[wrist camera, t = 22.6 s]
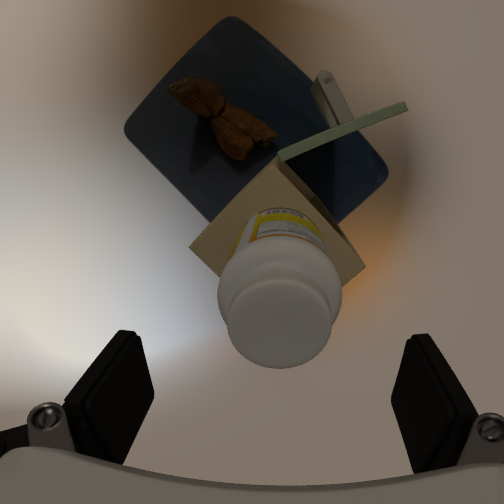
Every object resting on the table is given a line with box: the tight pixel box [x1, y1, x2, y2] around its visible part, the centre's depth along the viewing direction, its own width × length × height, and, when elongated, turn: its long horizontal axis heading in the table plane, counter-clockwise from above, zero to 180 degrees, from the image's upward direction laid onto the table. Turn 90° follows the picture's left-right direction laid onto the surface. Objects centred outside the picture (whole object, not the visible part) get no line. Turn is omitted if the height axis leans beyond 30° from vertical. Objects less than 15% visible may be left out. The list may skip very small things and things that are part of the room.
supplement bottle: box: [217, 207, 342, 369], centre depth 16 cm, size 6×6×10 cm
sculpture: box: [168, 77, 277, 161], centre depth 44 cm, size 8×10×15 cm
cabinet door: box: [277, 70, 408, 162], centre depth 33 cm, size 6×9×31 cm
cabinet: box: [189, 155, 366, 287], centre depth 36 cm, size 8×9×31 cm
